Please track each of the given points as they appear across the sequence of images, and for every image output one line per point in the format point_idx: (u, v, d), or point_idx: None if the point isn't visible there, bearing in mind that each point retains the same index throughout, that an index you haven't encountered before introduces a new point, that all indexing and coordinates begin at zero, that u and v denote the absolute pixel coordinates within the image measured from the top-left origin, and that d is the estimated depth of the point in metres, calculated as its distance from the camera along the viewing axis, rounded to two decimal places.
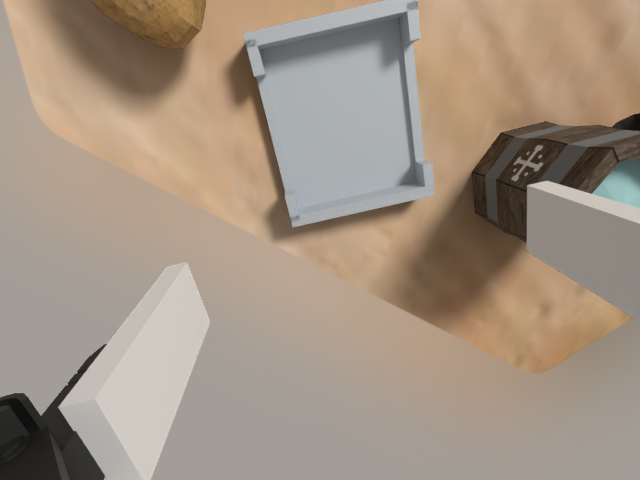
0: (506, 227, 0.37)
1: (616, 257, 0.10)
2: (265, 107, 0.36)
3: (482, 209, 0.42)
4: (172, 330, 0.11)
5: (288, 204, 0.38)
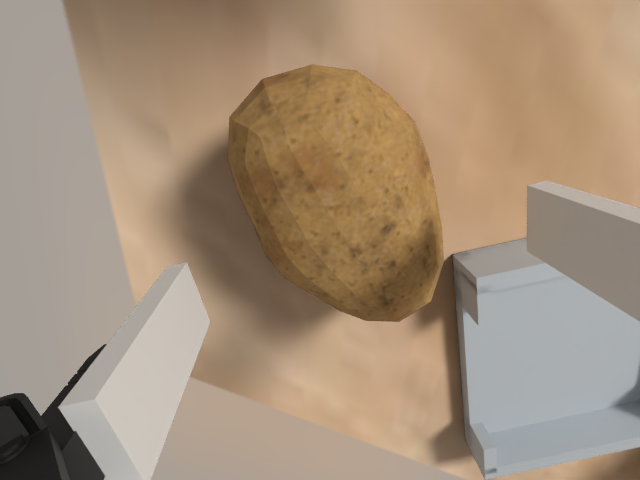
0: None
1: (616, 257, 0.10)
2: (466, 338, 0.26)
3: None
4: (172, 330, 0.11)
5: (486, 457, 0.27)
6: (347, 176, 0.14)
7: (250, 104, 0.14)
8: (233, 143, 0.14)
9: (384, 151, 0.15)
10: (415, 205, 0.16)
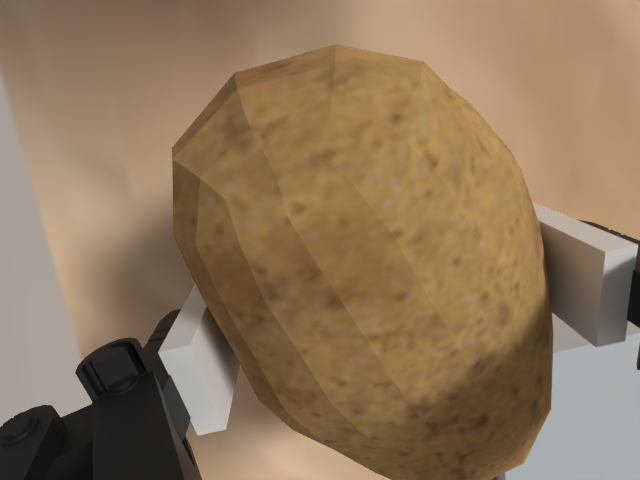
0: None
1: None
2: None
3: None
4: None
5: None
6: (413, 276, 0.07)
7: (205, 124, 0.06)
8: (175, 203, 0.07)
9: (481, 218, 0.07)
10: (527, 314, 0.08)
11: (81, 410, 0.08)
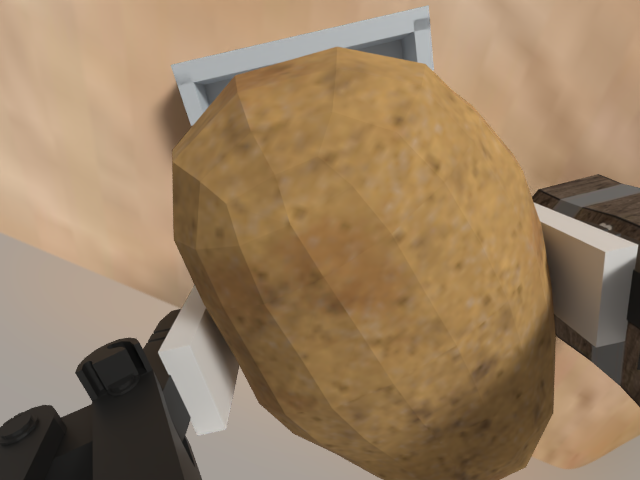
0: None
1: None
2: None
3: None
4: None
5: None
6: (415, 280, 0.07)
7: (206, 126, 0.06)
8: (175, 206, 0.07)
9: (484, 222, 0.07)
10: (530, 318, 0.08)
11: (81, 410, 0.08)
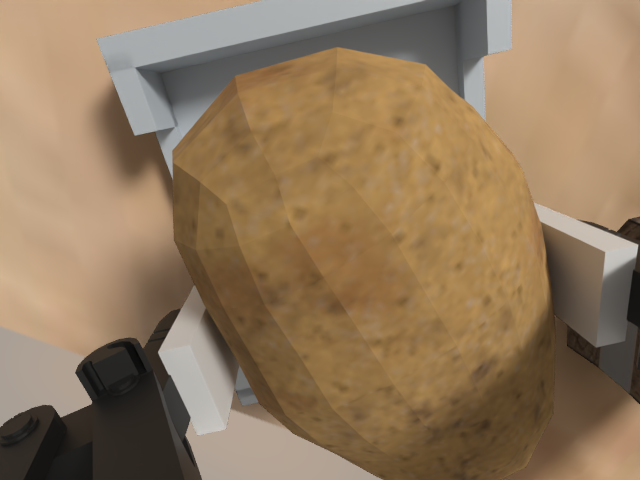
0: None
1: None
2: None
3: (587, 350, 0.23)
4: None
5: None
6: (415, 281, 0.07)
7: (206, 127, 0.06)
8: (175, 207, 0.07)
9: (483, 223, 0.07)
10: (530, 318, 0.08)
11: (81, 410, 0.08)
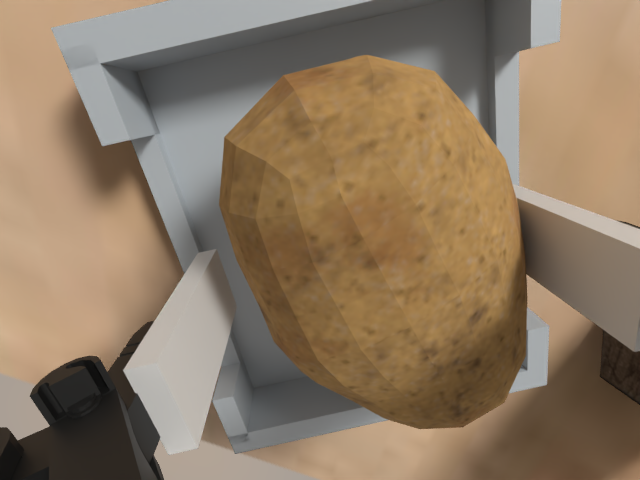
0: None
1: (562, 254, 0.10)
2: (161, 205, 0.15)
3: (625, 384, 0.21)
4: (209, 310, 0.11)
5: (222, 415, 0.17)
6: (431, 242, 0.08)
7: (267, 118, 0.08)
8: (234, 183, 0.08)
9: (480, 197, 0.09)
10: (511, 276, 0.10)
11: (41, 431, 0.07)
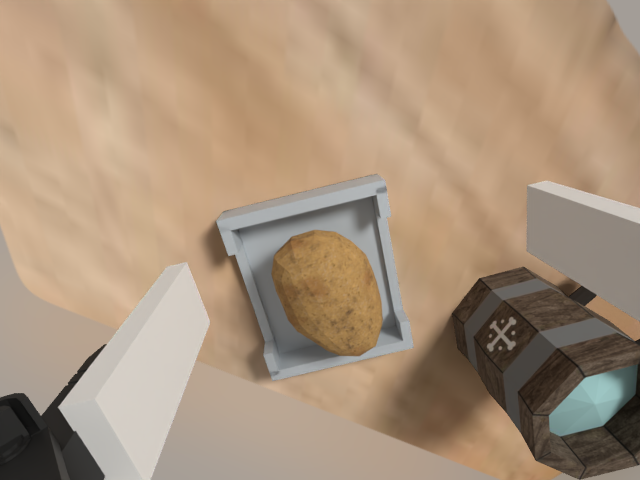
0: (485, 384, 0.37)
1: (616, 257, 0.10)
2: (242, 271, 0.37)
3: (464, 350, 0.41)
4: (172, 330, 0.11)
5: (267, 361, 0.38)
6: (329, 289, 0.30)
7: (285, 255, 0.30)
8: (276, 271, 0.31)
9: (347, 276, 0.31)
10: (363, 300, 0.32)
11: None
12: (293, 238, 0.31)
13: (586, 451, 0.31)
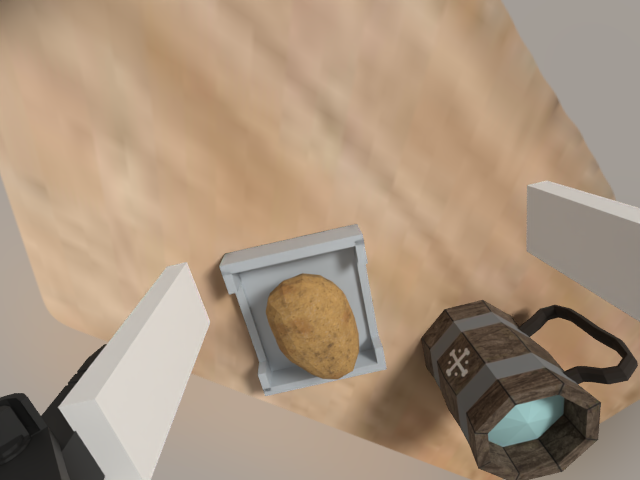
0: (445, 401, 0.44)
1: (616, 257, 0.10)
2: (240, 304, 0.43)
3: (430, 370, 0.48)
4: (172, 330, 0.11)
5: (261, 380, 0.44)
6: (314, 328, 0.36)
7: (277, 299, 0.36)
8: (269, 311, 0.37)
9: (329, 316, 0.37)
10: (342, 335, 0.38)
11: None
12: (284, 283, 0.37)
13: (521, 460, 0.38)
